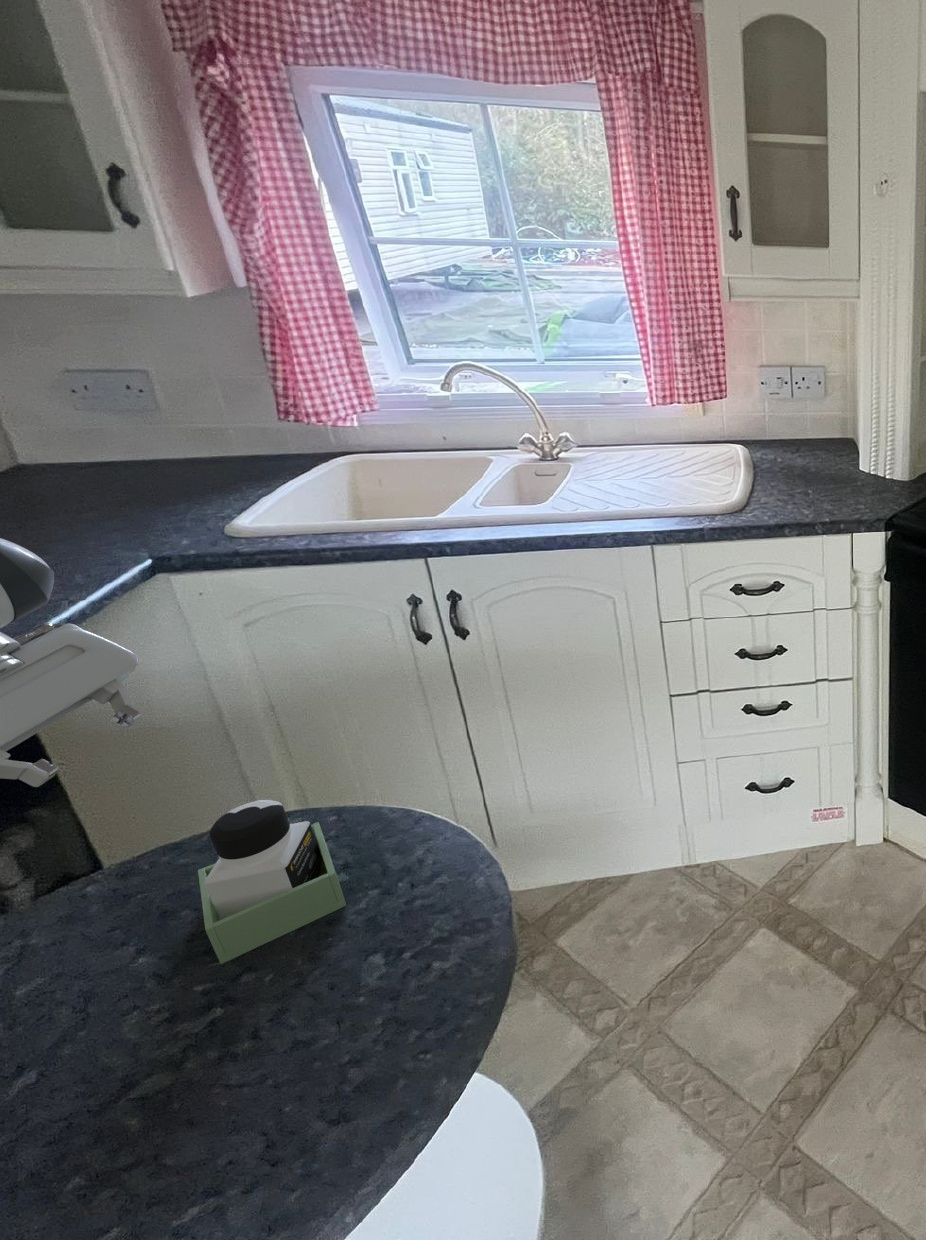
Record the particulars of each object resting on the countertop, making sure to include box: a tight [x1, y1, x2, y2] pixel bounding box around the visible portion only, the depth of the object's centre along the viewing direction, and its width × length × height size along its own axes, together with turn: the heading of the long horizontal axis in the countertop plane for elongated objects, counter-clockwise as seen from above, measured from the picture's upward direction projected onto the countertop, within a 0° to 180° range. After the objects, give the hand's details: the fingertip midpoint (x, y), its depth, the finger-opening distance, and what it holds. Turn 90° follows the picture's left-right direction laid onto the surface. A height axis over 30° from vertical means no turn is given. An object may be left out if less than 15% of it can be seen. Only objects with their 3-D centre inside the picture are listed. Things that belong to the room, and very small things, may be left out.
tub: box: [197, 821, 347, 965], centre depth 87 cm, size 11×11×5 cm
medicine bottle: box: [204, 799, 325, 920], centre depth 86 cm, size 7×7×12 cm
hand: (95, 747), depth 81 cm, fingers open, 8 cm apart
